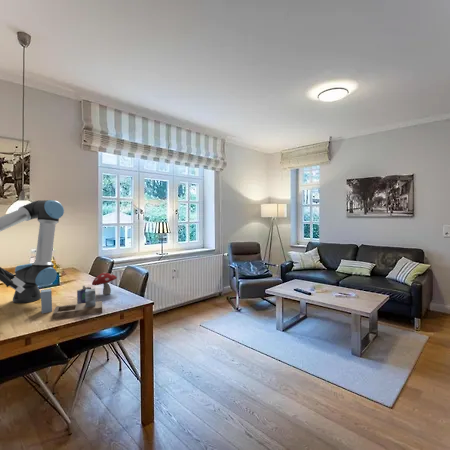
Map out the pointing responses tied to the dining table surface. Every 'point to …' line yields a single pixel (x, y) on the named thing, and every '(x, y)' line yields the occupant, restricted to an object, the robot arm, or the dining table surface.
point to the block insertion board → (80, 307)
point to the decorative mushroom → (104, 281)
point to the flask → (81, 295)
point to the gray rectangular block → (46, 301)
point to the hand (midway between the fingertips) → (23, 288)
